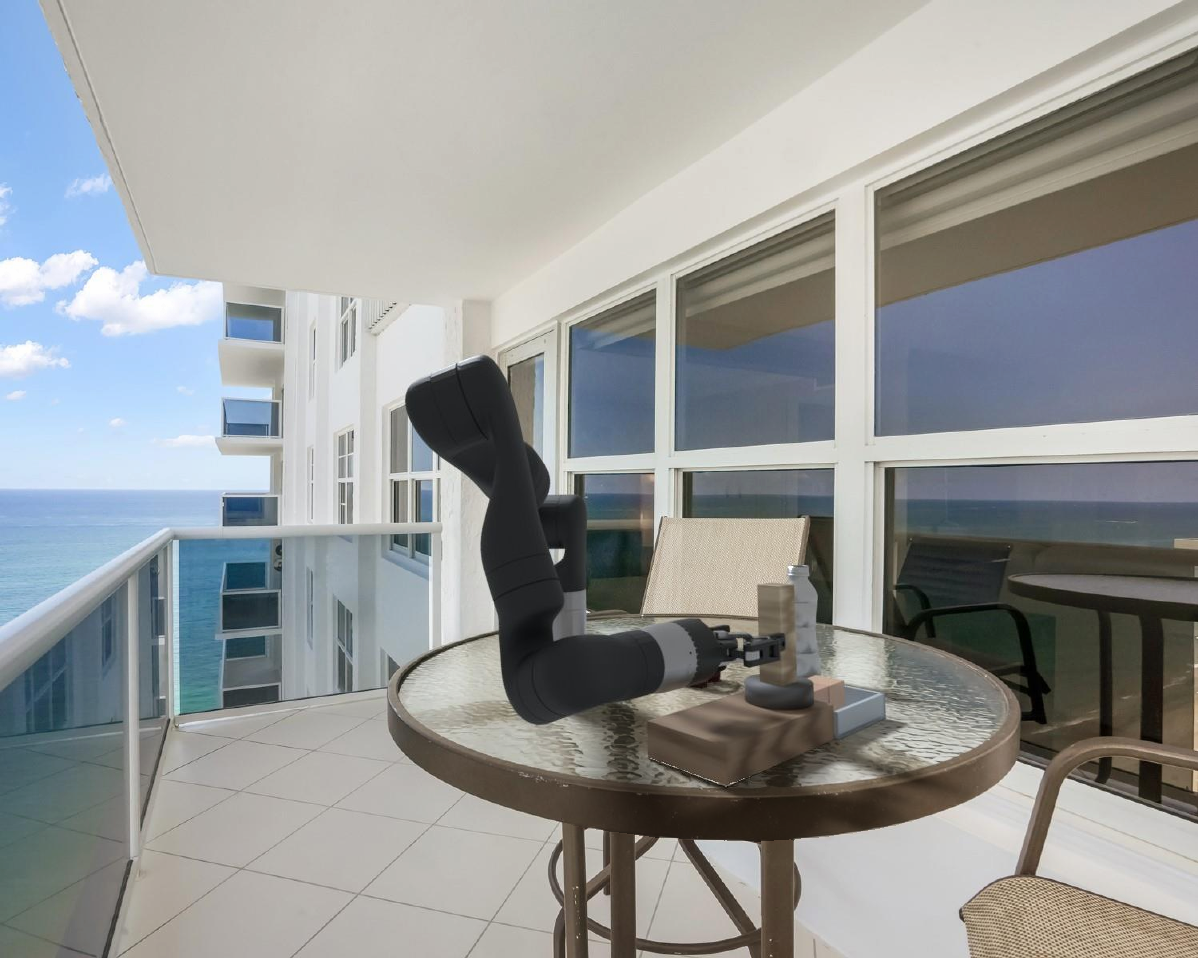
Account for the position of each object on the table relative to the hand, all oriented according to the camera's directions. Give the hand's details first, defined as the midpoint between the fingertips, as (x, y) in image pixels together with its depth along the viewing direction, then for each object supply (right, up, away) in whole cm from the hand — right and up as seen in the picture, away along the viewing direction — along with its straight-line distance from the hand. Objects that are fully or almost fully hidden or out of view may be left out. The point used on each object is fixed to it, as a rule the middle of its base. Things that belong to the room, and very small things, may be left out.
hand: (754, 636), depth 86 cm
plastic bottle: (+16, -15, +32) cm, 38 cm away
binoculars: (-2, -16, +31) cm, 35 cm away
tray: (+12, -14, +9) cm, 20 cm away
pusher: (+4, -9, +3) cm, 10 cm away
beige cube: (+11, -11, +9) cm, 18 cm away
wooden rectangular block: (-2, -14, -2) cm, 14 cm away
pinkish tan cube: (+9, -13, +7) cm, 18 cm away
